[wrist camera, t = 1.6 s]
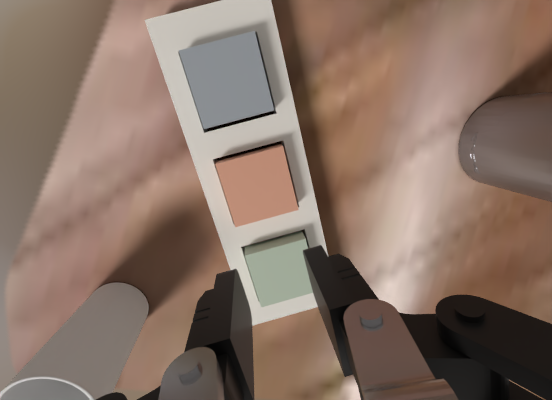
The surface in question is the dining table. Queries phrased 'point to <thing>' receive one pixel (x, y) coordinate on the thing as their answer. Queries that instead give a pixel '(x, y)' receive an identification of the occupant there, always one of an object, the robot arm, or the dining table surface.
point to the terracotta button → (257, 185)
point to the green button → (279, 268)
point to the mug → (85, 349)
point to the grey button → (227, 79)
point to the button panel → (240, 133)
